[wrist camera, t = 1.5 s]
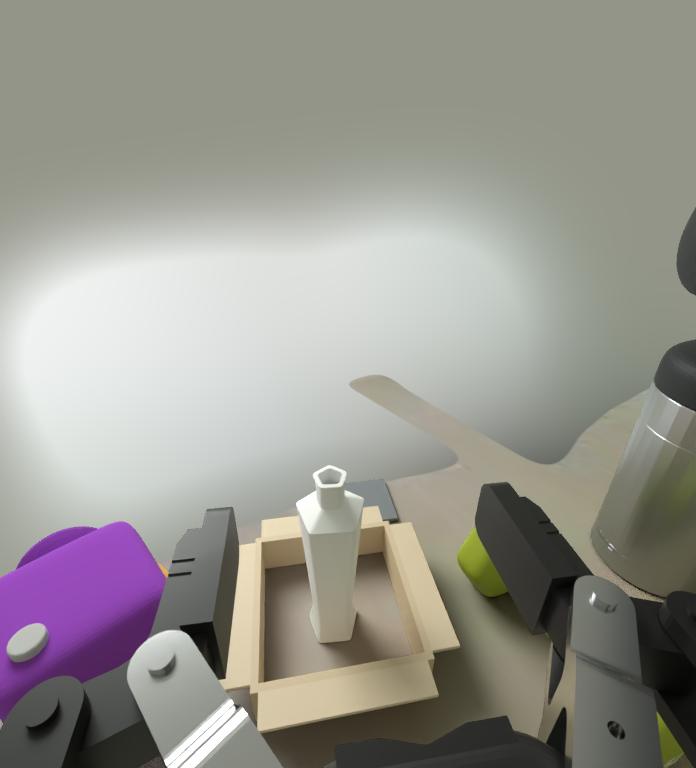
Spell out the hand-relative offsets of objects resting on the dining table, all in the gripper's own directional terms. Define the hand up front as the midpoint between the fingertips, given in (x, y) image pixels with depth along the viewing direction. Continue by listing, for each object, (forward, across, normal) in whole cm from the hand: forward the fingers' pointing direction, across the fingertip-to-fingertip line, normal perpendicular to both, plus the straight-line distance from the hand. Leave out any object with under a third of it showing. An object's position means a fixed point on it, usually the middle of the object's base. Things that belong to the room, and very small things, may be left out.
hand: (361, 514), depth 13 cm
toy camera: (+11, +17, +23) cm, 30 cm away
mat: (+23, -4, +22) cm, 32 cm away
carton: (+11, 0, +22) cm, 25 cm away
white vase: (+11, 0, +22) cm, 25 cm away
